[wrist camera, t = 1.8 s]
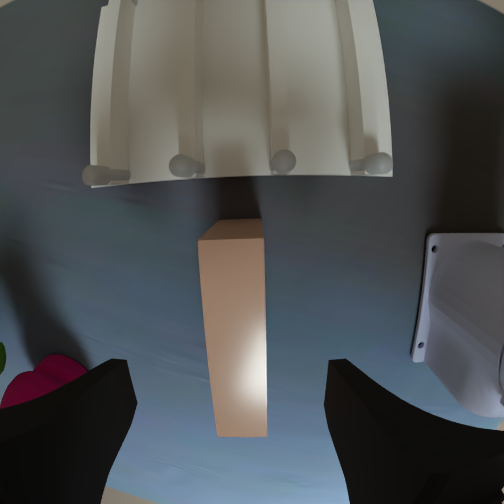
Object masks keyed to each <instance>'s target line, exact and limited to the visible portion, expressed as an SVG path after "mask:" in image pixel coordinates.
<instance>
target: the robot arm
mask: <svg viewBox="0 0 504 504" xmlns="http://www.w3.org/2000/svg"><path fill="white" fill-rule="evenodd" d="M502 245H503V248H502ZM433 246H435V249H434V251H433V252H432V250H431V249H432V247H433ZM421 342H422V343H421ZM419 343H421V345H419ZM418 345H419V346H418ZM411 359H412V360H413V362H423V361H424V362H425V363H426V364H427V365H428V367H429V368H430V369H431V370H432V371H433V373H434V374H435V375H436V376H437V377H438V379H439V380H440V381H441V382H442V384H443V385H444V386H445V387H446V388H447V390H448V391H449V392H450V393H451V395H452V396H453V397H454V398H455V400H456V401H457V402H458V403H459V404H460V405H461V406H462V407H464V408H465V409H467V410H468V411H470V412H472V413H474V414H477V415H480V416H483V417H492V418H494V417H503V416H504V233H432V234H430V235H429V236H428V237H427V241H426V255H425V266H424V276H423V285H422V293H421V301H420V308H419V314H418V321H417V327H416V332H415V338H414V343H413V348H412V353H411ZM136 406H137V400H136V396H135V392H134V388H133V385H132V381H131V377H130V373H129V368H128V364H127V360H123V359H110V360H108V361H106V362H104V363H102V364H100V365H98V366H97V367H95V368H93V369H91V370H90V371H88V372H86V373H85V374H83V375H81V376H79V377H78V378H76V379H74V380H72V381H71V382H69V383H67V384H65V385H63V386H61V387H59V388H57V389H55V390H53V391H51V392H49V393H47V394H45V395H42V396H40V397H37V398H35V399H32V400H29V401H27V402H23V403H20V404H16V405H13V406H9V407H6V408H1V409H0V504H100V503H101V499H102V495H103V491H104V488H105V485H106V481H107V478H108V475H109V472H110V470H111V467H112V465H113V463H114V461H115V458H116V456H117V454H118V452H119V450H120V448H121V446H122V443H123V441H124V439H125V437H126V435H127V433H128V430H129V428H130V426H131V423H132V420H133V417H134V414H135V410H136ZM324 408H325V414H326V419H327V424H328V429H329V432H330V435H331V438H332V441H333V444H334V447H335V450H336V453H337V456H338V459H339V462H340V465H341V468H342V471H343V473H344V477H345V481H346V485H347V490H348V495H349V501H350V504H502V503H501V502H503V501H504V493H503V492H502V488H503V487H504V431H500V430H491V429H483V428H477V427H472V426H468V425H463V424H459V423H456V422H452V421H449V420H446V419H443V418H441V417H438V416H435V415H433V414H430V413H428V412H425V411H423V410H421V409H419V408H417V407H415V406H413V405H411V404H409V403H407V402H406V401H404V400H402V399H400V398H399V397H397V396H396V395H394V394H392V393H391V392H389V391H388V390H386V389H385V388H383V387H382V386H381V385H379V384H378V383H376V382H375V381H374V380H372V379H371V378H370V377H368V376H367V375H366V374H365V373H363V372H362V371H361V370H360V369H358V368H357V367H356V366H355V365H353V364H352V363H351V362H349V361H348V360H347V359H336V360H329V363H328V373H327V382H326V391H325V400H324Z"/></svg>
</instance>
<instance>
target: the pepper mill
mask: <svg viewBox="0 0 504 504" xmlns="http://www.w3.org/2000/svg"><path fill="white" fill-rule="evenodd" d="M86 372H88V371H87V370H86V369H85V368H84V367H83V366H81V365H80V364H79V363H78V362H76V361H75V360H73V359H71V358H69V357H67V356H64V355H59V354H53V355H49V356H47V357H46V358H44V359H43V360H42V361H41V362H40V363H39V364H38V365H37V366H36V367H35V368H34V370H33V371H27V372H23V373H20V374H19V375H17V376H16V377H15V378H14V379H13V380H12V382H11V383H10V384H9V385H8V386H7V389H6V391H5V393H4V395H3V398H2V401H1V405H0V409H1V408H6V407H9V406H13V405H16V404H20V403H23V402H27V401H29V400H32V399H35V398H37V397H40V396H42V395H45V394H47V393H49V392H51V391H53V390H55V389H57V388H59V387H61V386H63V385H65V384H67V383H69V382H71V381H72V380H74V379H76V378H78V377H79V376H81V375H83V374H85V373H86Z"/></svg>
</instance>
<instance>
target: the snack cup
mask: <svg viewBox="0 0 504 504" xmlns="http://www.w3.org/2000/svg"><path fill="white" fill-rule="evenodd" d="M5 363H6V352H5V347H4V345H3V343H2V342H0V374H1V373H2V372H3V370H4V367H5Z"/></svg>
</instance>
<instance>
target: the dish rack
mask: <svg viewBox="0 0 504 504" xmlns="http://www.w3.org/2000/svg"><path fill="white" fill-rule="evenodd" d="M90 162H91V165H89V166H87V167H86V168H85V169H84V170H83V173H82V180H83V182H84V183H85V184H86V185H88V186H91V188H98V187H107V186H116V185H125V184H135V183H146V182H157V181H170V180H183V179H199V178H216V177H239V176H272V175H346V176H379V177H393V175H392V168H393V160H392V144H391V127H390V114H389V102H388V92H387V83H386V75H385V67H384V60H383V53H382V47H381V41H380V35H379V29H378V24H377V19H376V14H375V9H374V4H373V0H109V3H108V6H104V7H102V9H101V15H100V21H99V27H98V34H97V42H96V50H95V59H94V70H93V82H92V97H91V124H90Z"/></svg>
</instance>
